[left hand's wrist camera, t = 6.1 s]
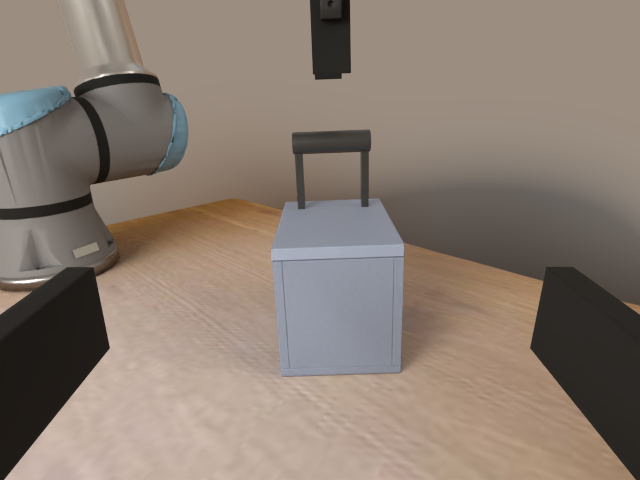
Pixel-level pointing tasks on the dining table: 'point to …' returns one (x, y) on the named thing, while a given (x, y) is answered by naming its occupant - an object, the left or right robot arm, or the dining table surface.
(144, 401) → the dining table surface
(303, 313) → the chest
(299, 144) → the lid
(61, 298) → the left robot arm
